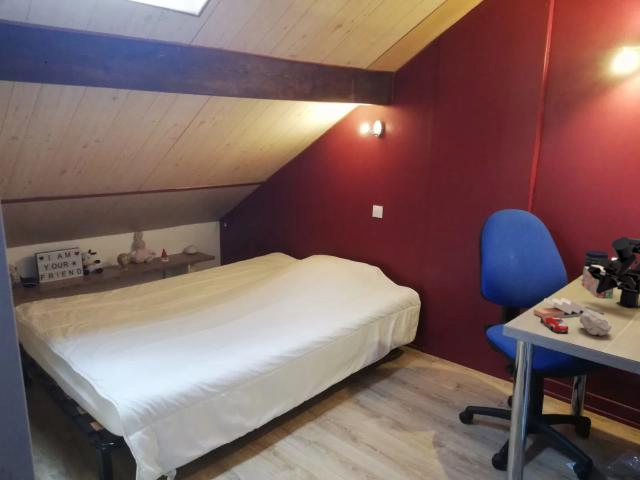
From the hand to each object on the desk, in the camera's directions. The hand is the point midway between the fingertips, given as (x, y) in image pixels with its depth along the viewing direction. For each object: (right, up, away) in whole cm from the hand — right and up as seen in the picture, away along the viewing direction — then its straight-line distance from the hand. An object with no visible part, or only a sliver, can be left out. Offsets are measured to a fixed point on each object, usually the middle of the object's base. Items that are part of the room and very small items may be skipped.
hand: (597, 292), depth 190 cm
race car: (-26, -11, -18) cm, 34 cm away
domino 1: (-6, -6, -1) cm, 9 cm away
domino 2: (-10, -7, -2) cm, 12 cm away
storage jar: (+24, 0, +45) cm, 51 cm away
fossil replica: (-15, -12, -23) cm, 29 cm away
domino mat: (-11, -8, -2) cm, 13 cm away
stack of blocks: (+16, -3, +29) cm, 33 cm away
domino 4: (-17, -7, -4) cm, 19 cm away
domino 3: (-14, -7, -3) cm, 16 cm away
